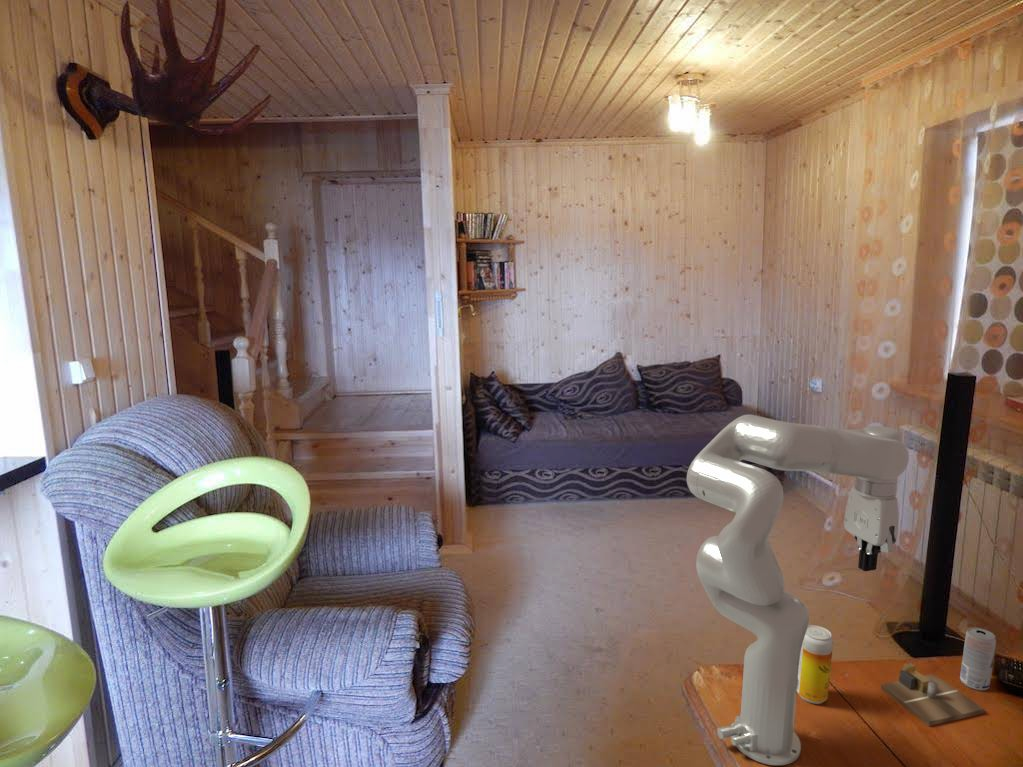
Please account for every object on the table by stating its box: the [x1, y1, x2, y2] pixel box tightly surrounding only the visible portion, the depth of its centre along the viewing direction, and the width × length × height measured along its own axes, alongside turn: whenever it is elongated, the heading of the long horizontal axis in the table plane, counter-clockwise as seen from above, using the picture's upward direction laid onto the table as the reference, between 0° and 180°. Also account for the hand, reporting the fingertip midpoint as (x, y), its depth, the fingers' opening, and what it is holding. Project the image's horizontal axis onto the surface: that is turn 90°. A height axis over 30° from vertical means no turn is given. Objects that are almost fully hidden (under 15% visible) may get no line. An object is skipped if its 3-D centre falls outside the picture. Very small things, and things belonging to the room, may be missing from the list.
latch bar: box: [902, 662, 931, 692], centre depth 142 cm, size 5×2×3 cm, turn 17°
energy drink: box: [959, 626, 997, 692], centre depth 143 cm, size 5×5×12 cm
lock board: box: [880, 669, 985, 727], centre depth 138 cm, size 14×12×4 cm
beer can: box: [797, 624, 834, 705], centre depth 139 cm, size 6×6×15 cm
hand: (867, 568), depth 139 cm, fingers closed
